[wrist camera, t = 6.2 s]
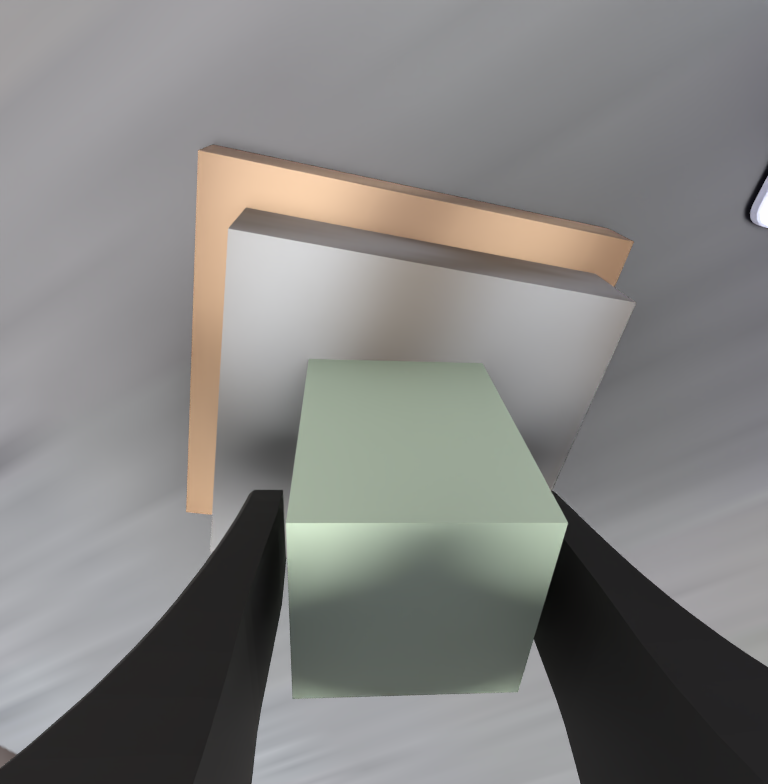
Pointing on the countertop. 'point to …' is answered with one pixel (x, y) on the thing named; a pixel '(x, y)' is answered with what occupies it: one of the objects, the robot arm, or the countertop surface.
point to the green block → (413, 533)
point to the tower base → (357, 210)
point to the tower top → (394, 337)
